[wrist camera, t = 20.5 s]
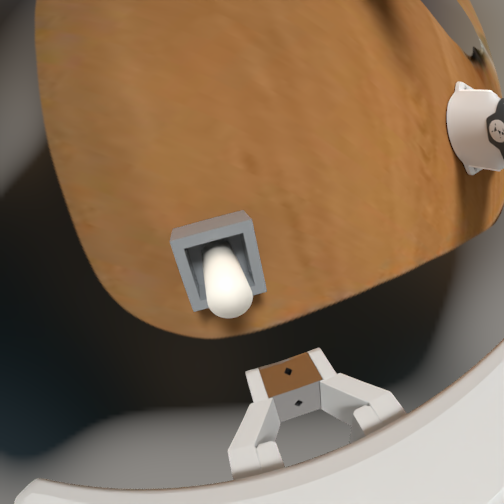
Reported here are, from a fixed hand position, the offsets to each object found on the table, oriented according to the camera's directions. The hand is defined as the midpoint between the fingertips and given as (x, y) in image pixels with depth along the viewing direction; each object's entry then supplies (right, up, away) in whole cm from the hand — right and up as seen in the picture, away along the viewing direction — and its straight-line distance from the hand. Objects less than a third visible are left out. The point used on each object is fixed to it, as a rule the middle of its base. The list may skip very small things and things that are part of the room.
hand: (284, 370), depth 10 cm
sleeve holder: (-6, +4, +25) cm, 26 cm away
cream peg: (-5, +4, +24) cm, 25 cm away
